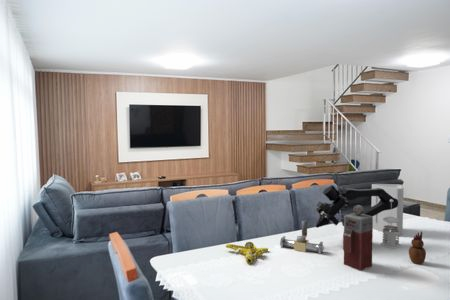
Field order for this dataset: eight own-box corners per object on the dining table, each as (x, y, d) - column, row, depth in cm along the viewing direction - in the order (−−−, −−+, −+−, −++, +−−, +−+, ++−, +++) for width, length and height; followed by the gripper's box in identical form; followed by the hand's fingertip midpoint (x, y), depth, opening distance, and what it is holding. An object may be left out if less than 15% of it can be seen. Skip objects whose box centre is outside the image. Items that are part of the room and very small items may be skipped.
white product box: (414, 233, 200) (415, 187, 199) (397, 236, 194) (398, 189, 192) (386, 225, 217) (387, 182, 216) (370, 228, 211) (371, 184, 210)
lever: (304, 242, 171) (304, 226, 171) (296, 241, 173) (296, 225, 173) (309, 236, 181) (309, 221, 180) (301, 235, 183) (301, 220, 182)
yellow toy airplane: (270, 265, 155) (268, 248, 175) (269, 251, 154) (267, 236, 174) (223, 268, 157) (226, 251, 177) (222, 255, 156) (225, 239, 176)
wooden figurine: (423, 261, 157) (424, 230, 156) (426, 266, 152) (427, 233, 151) (407, 259, 159) (408, 228, 159) (410, 264, 154) (410, 232, 153)
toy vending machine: (340, 265, 153) (340, 205, 152) (355, 260, 160) (356, 202, 158) (357, 272, 146) (358, 209, 144) (372, 266, 152) (373, 205, 150)
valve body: (323, 250, 172) (323, 241, 172) (321, 254, 167) (321, 245, 166) (283, 244, 183) (283, 235, 182) (279, 247, 177) (279, 238, 177)
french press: (381, 246, 177) (381, 200, 176) (379, 240, 188) (380, 196, 187) (401, 249, 174) (402, 201, 172) (399, 242, 184) (400, 197, 183)
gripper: (319, 193, 190) (300, 212, 190) (333, 200, 172) (312, 221, 171) (332, 206, 192) (313, 225, 191) (347, 214, 173) (326, 236, 173)
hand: (316, 226), depth 182 cm, fingers closed
